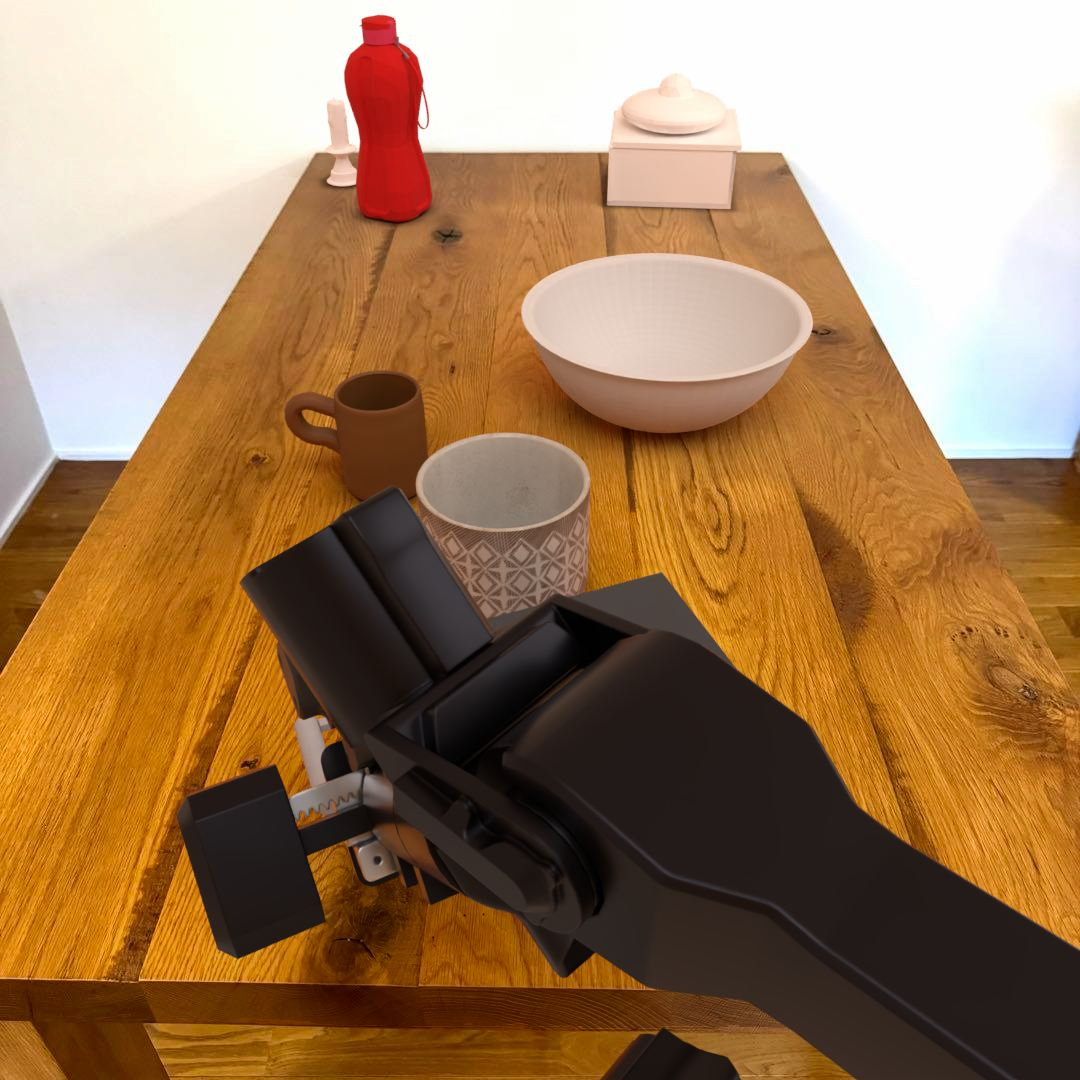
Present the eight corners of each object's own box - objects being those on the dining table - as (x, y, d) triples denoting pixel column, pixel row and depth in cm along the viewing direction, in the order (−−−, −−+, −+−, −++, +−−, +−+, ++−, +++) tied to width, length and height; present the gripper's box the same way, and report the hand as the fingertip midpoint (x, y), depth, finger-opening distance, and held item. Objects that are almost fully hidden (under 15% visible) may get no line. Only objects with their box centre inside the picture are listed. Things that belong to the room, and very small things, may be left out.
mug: (288, 507, 90) (270, 414, 85) (304, 459, 96) (288, 369, 91) (426, 507, 90) (417, 413, 85) (433, 458, 96) (426, 368, 91)
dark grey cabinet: (536, 858, 62) (535, 757, 57) (474, 722, 71) (467, 623, 65) (735, 789, 66) (753, 689, 60) (653, 669, 75) (662, 571, 69)
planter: (619, 603, 80) (625, 493, 74) (476, 666, 75) (469, 553, 69) (532, 521, 89) (531, 415, 82) (398, 571, 83) (386, 463, 77)
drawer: (339, 906, 59) (322, 825, 54) (302, 771, 66) (284, 691, 62) (610, 814, 63) (615, 733, 59) (547, 698, 71) (546, 619, 67)
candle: (347, 189, 154) (337, 104, 146) (319, 183, 156) (308, 99, 149) (370, 178, 157) (361, 95, 150) (342, 172, 159) (332, 90, 152)
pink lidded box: (612, 165, 162) (616, 55, 152) (729, 168, 160) (740, 57, 150) (606, 205, 148) (610, 87, 138) (734, 209, 146) (747, 90, 137)
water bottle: (418, 230, 141) (402, 28, 126) (350, 217, 145) (326, 20, 129) (451, 207, 147) (440, 13, 132) (385, 196, 151) (367, 6, 136)
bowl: (795, 494, 92) (813, 395, 85) (494, 461, 96) (491, 364, 90) (798, 351, 113) (812, 263, 107) (551, 330, 117) (551, 244, 111)
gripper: (636, 501, 39) (514, 564, 54) (120, 661, 32) (142, 683, 47) (735, 786, 38) (585, 772, 53) (228, 1009, 32) (216, 922, 46)
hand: (393, 780), depth 50 cm, fingers closed
